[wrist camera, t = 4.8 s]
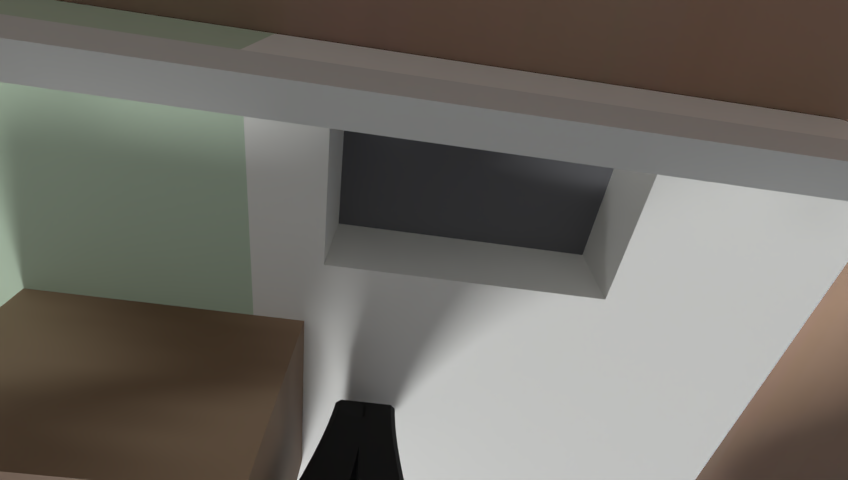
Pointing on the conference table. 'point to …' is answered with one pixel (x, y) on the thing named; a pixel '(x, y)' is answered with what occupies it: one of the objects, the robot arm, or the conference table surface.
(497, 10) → the conference table surface
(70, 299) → the walnut block
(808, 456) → the conference table surface
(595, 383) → the trap board
